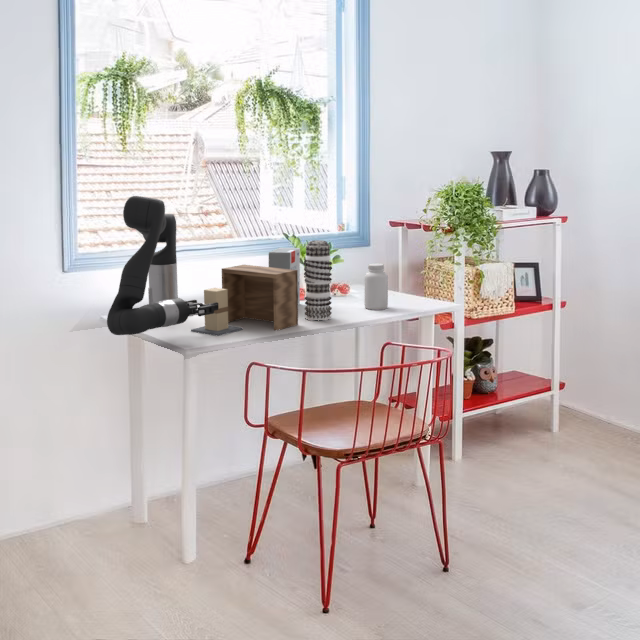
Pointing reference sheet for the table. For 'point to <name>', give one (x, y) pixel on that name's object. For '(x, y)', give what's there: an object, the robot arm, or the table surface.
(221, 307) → the block
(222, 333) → the mat
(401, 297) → the table surface
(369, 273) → the pill bottle
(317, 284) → the decorative candle
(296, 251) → the hard drive box
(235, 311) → the cubby
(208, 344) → the table surface
